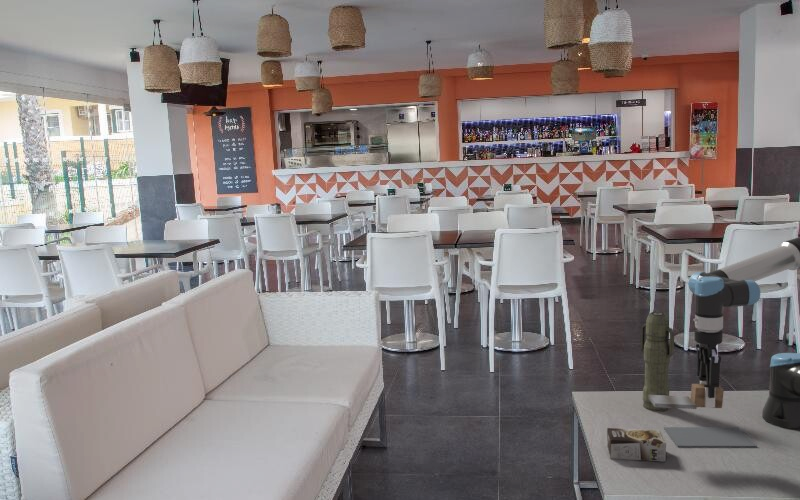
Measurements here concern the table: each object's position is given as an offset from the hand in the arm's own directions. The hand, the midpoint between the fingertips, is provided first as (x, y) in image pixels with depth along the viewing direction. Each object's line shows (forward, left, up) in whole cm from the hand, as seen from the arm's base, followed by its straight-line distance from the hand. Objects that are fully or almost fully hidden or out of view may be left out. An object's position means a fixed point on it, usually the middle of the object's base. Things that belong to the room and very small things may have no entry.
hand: (707, 404), depth 197 cm
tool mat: (-6, -13, -16) cm, 22 cm away
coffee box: (+12, 0, -13) cm, 18 cm away
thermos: (+3, -39, -17) cm, 42 cm away
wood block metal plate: (+6, 0, 0) cm, 6 cm away
